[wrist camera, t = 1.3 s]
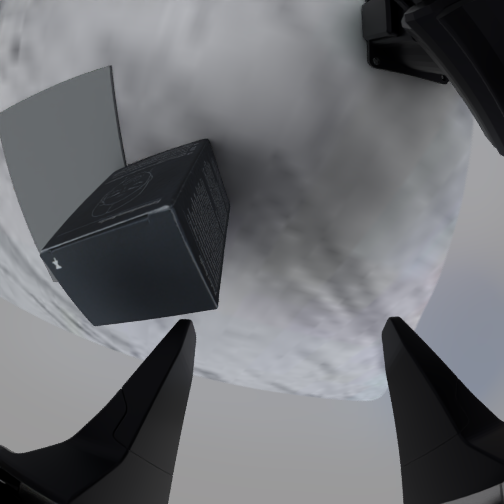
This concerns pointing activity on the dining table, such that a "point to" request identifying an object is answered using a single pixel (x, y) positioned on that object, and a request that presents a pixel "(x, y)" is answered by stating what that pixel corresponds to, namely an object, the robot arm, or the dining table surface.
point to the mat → (61, 149)
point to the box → (146, 240)
